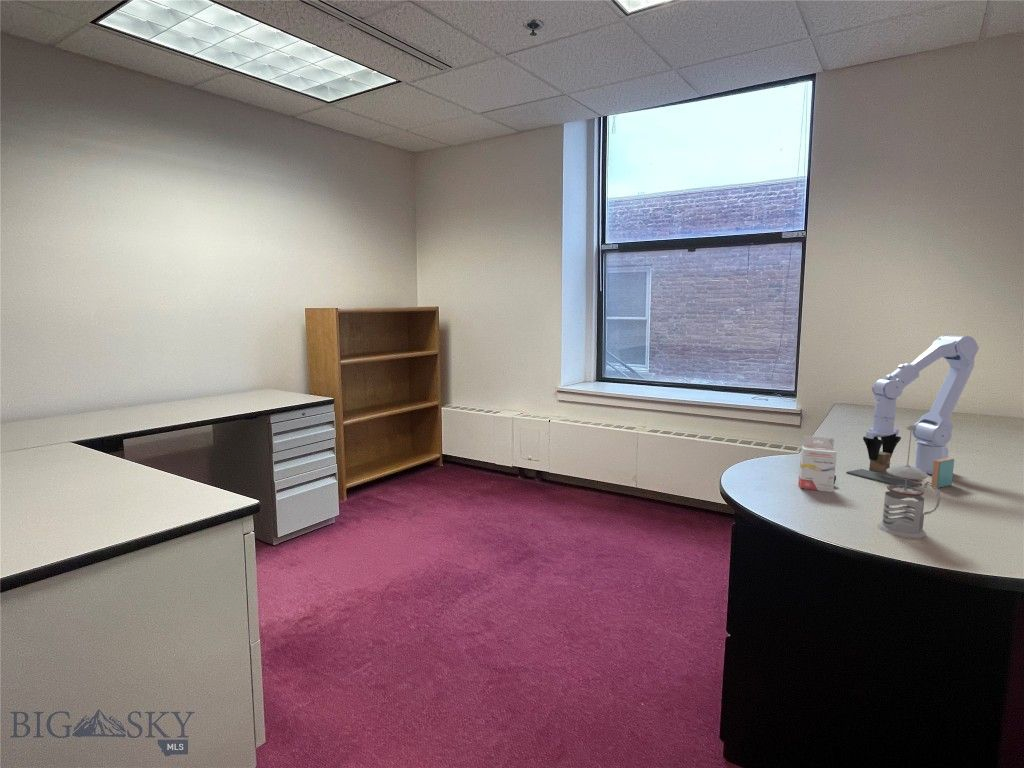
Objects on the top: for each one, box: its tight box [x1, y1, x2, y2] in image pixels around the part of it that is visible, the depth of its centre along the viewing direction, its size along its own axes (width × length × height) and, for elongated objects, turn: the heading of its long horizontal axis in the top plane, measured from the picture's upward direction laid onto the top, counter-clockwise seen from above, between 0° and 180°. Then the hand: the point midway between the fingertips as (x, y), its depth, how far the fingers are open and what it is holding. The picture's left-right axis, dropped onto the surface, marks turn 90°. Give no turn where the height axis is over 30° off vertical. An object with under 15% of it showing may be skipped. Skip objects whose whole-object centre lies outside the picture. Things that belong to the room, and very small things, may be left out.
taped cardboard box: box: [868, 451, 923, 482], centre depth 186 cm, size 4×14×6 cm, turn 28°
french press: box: [876, 424, 942, 539], centre depth 136 cm, size 10×12×25 cm
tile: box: [930, 457, 955, 489], centre depth 174 cm, size 8×2×8 cm, turn 119°
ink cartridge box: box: [797, 435, 837, 493], centre depth 170 cm, size 9×5×15 cm, turn 71°
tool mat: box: [845, 468, 923, 488], centre depth 181 cm, size 8×18×1 cm, turn 28°
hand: (880, 458), depth 190 cm, fingers open, 7 cm apart
